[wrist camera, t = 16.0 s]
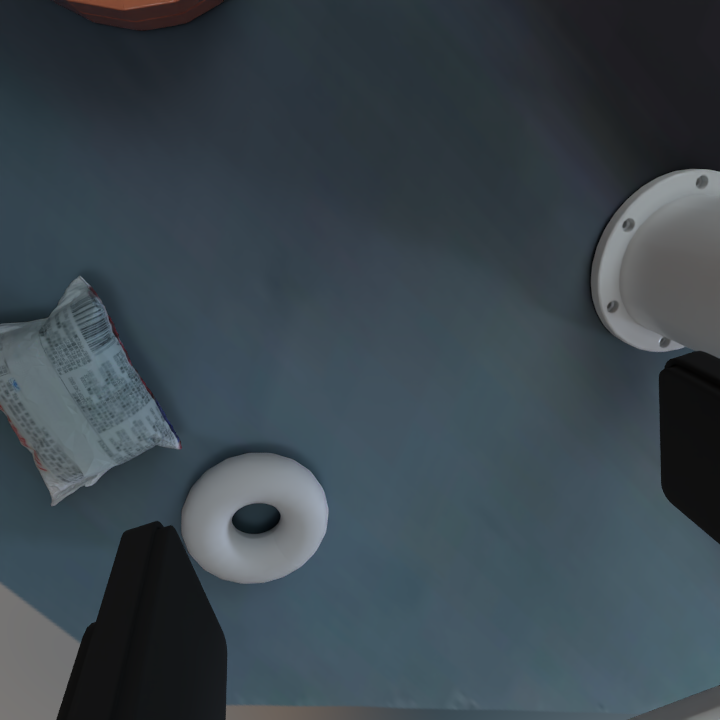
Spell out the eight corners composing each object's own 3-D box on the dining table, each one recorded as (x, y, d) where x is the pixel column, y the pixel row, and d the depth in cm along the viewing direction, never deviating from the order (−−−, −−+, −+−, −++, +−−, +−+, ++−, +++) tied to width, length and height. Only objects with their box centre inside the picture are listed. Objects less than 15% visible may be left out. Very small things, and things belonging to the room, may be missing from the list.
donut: (228, 418, 38) (156, 532, 39) (228, 443, 34) (149, 566, 36) (350, 477, 41) (279, 579, 43) (360, 504, 38) (282, 613, 40)
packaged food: (62, 480, 37) (38, 528, 32) (-49, 319, 32) (-95, 348, 28) (189, 429, 37) (183, 469, 33) (98, 263, 33) (76, 283, 28)
